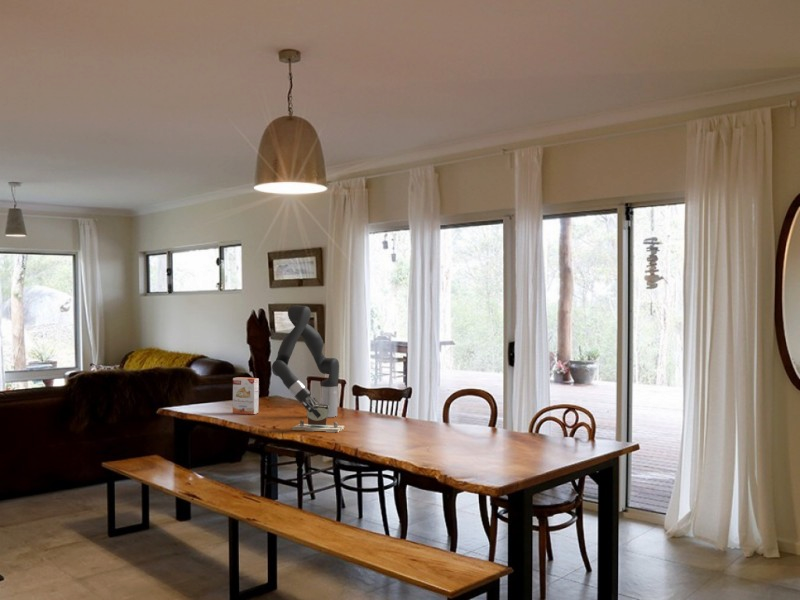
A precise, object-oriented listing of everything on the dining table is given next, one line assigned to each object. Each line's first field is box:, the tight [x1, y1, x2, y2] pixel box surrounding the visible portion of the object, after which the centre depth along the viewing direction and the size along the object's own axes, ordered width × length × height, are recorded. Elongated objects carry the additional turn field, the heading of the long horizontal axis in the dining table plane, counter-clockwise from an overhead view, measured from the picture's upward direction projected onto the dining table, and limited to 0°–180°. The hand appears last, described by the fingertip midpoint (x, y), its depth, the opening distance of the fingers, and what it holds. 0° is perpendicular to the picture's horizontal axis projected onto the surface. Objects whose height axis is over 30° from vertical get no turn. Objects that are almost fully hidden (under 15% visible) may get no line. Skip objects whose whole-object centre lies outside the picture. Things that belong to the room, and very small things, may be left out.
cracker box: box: [232, 376, 260, 415], centre depth 396 cm, size 14×6×21 cm, turn 73°
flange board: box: [291, 420, 345, 433], centre depth 346 cm, size 12×24×4 cm, turn 78°
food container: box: [304, 403, 329, 425], centre depth 346 cm, size 12×6×10 cm, turn 84°
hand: (321, 415), depth 346 cm, fingers closed on food container, 6 cm apart
